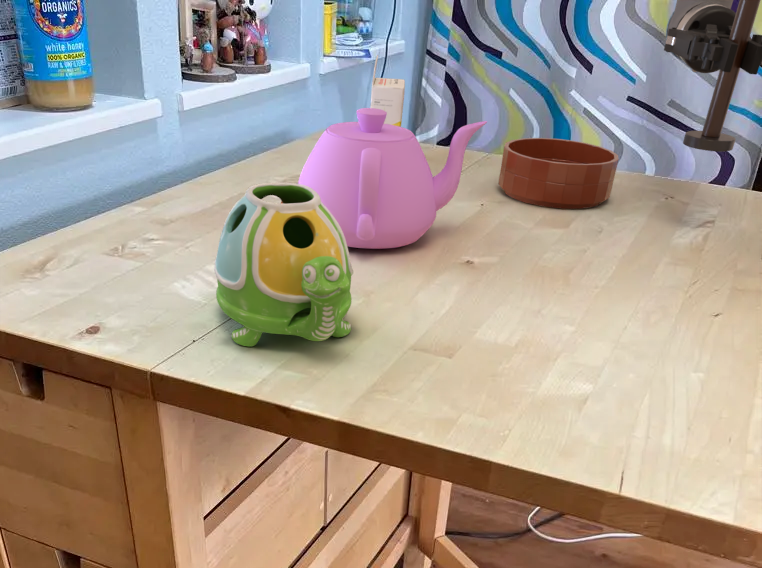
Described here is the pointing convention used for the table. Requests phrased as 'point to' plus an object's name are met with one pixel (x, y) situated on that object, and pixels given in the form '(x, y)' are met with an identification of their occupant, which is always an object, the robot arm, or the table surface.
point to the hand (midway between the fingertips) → (744, 59)
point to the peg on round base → (725, 86)
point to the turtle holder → (283, 266)
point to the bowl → (557, 172)
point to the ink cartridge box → (388, 97)
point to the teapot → (381, 179)
